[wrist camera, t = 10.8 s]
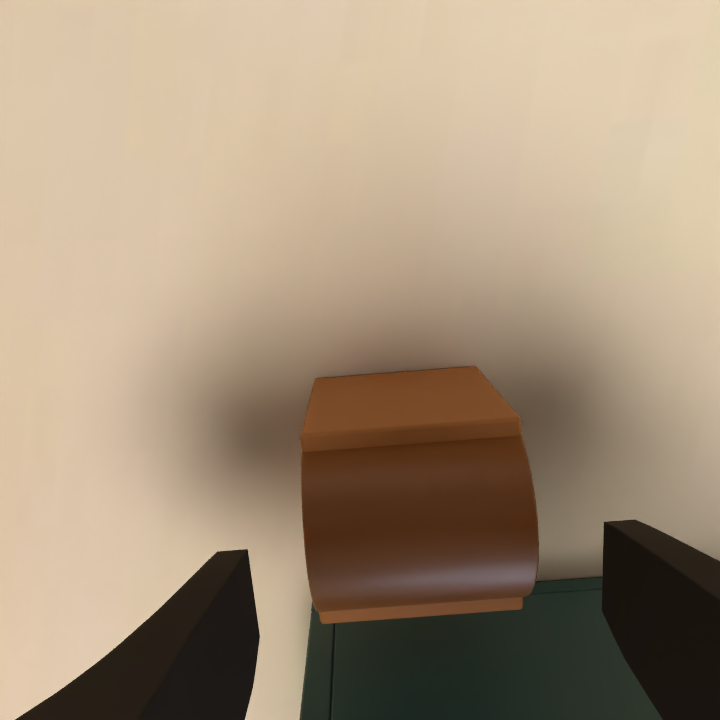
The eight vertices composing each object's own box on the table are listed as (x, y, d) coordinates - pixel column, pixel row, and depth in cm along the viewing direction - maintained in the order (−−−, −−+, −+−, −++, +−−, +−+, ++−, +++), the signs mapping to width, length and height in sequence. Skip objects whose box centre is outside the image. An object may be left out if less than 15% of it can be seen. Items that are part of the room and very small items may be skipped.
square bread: (476, 365, 17) (538, 437, 11) (480, 513, 18) (539, 646, 13) (314, 378, 17) (293, 456, 11) (328, 524, 18) (317, 662, 13)
